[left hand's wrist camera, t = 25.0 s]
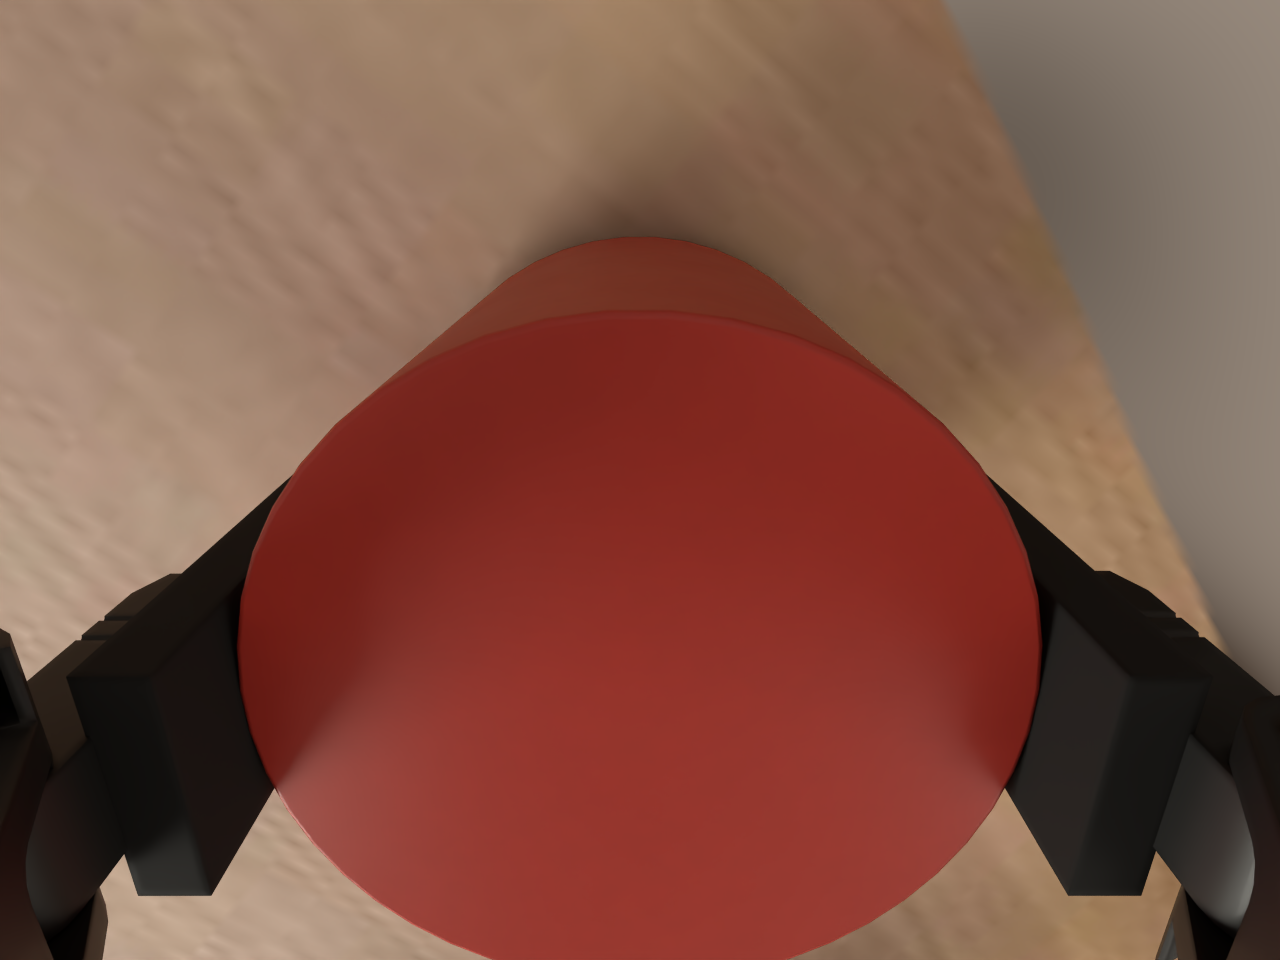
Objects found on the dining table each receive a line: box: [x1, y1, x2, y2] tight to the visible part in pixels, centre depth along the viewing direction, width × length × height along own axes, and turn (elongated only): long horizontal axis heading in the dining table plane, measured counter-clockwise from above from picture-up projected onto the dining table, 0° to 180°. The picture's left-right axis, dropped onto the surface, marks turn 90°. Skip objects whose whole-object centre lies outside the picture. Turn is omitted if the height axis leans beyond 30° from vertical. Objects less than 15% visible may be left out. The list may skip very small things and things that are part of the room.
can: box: [237, 237, 1042, 960], centre depth 12 cm, size 9×9×8 cm
